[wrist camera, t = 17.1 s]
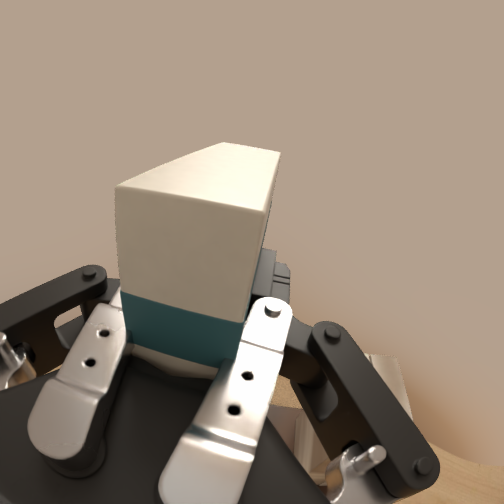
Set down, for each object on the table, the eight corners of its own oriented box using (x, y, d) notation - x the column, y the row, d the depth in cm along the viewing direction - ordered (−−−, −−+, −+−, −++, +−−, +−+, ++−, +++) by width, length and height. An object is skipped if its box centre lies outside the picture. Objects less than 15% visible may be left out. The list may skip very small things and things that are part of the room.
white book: (239, 349, 17) (281, 152, 11) (212, 465, 10) (267, 213, 4) (199, 340, 17) (221, 141, 11) (158, 450, 10) (111, 185, 4)
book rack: (354, 417, 27) (413, 346, 20) (358, 498, 17) (444, 452, 11) (170, 385, 28) (164, 298, 21) (137, 466, 18) (98, 408, 12)
